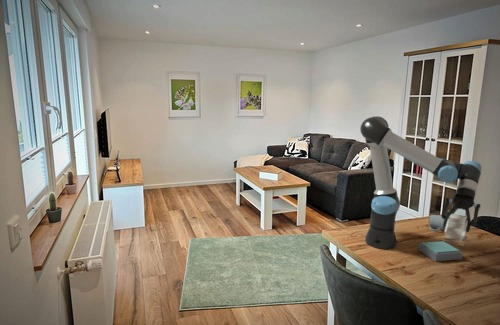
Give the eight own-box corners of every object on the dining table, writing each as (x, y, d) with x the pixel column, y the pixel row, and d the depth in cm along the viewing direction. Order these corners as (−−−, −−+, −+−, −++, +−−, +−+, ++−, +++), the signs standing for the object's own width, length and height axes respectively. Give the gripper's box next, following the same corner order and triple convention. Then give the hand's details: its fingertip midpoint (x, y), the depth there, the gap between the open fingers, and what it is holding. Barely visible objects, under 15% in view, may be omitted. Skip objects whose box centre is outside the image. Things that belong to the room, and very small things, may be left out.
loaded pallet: (442, 240, 147) (445, 217, 145) (446, 234, 153) (449, 212, 151) (463, 246, 142) (467, 221, 140) (466, 239, 148) (470, 216, 145)
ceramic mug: (430, 224, 196) (431, 212, 194) (445, 227, 190) (447, 215, 189) (425, 229, 188) (427, 217, 186) (441, 233, 183) (443, 220, 181)
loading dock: (435, 261, 150) (436, 253, 150) (417, 249, 162) (418, 242, 161) (461, 259, 153) (462, 251, 152) (442, 247, 165) (443, 240, 164)
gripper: (490, 199, 149) (480, 245, 140) (443, 191, 161) (431, 232, 153) (491, 191, 144) (480, 237, 135) (442, 183, 156) (429, 225, 148)
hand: (454, 235), depth 144 cm, fingers closed on loaded pallet, 6 cm apart
